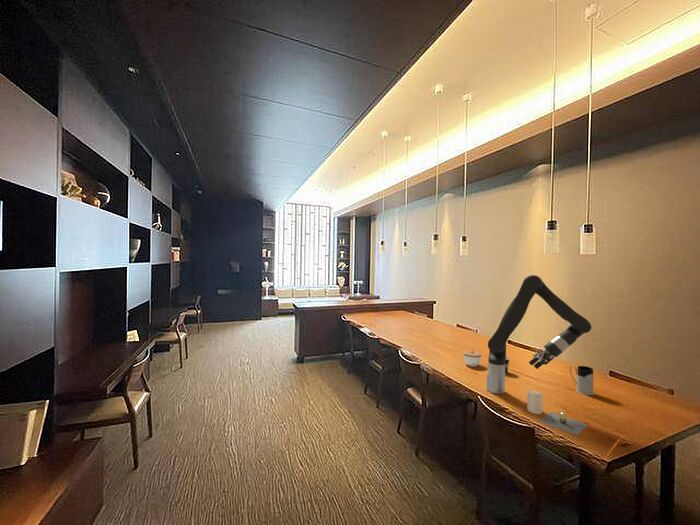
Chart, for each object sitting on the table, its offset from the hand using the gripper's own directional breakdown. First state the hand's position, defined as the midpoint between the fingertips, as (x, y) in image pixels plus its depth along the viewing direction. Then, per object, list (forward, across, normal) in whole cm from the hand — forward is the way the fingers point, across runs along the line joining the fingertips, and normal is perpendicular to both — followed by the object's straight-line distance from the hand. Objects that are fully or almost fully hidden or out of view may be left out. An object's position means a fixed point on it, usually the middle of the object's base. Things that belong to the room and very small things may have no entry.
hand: (532, 365), depth 170 cm
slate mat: (+10, +13, +24) cm, 29 cm away
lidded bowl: (+27, -67, -4) cm, 72 cm away
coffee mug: (+15, -57, +9) cm, 59 cm away
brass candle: (+10, +13, +23) cm, 28 cm away
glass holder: (-13, -34, +38) cm, 53 cm away
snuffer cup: (+16, +3, +16) cm, 23 cm away
